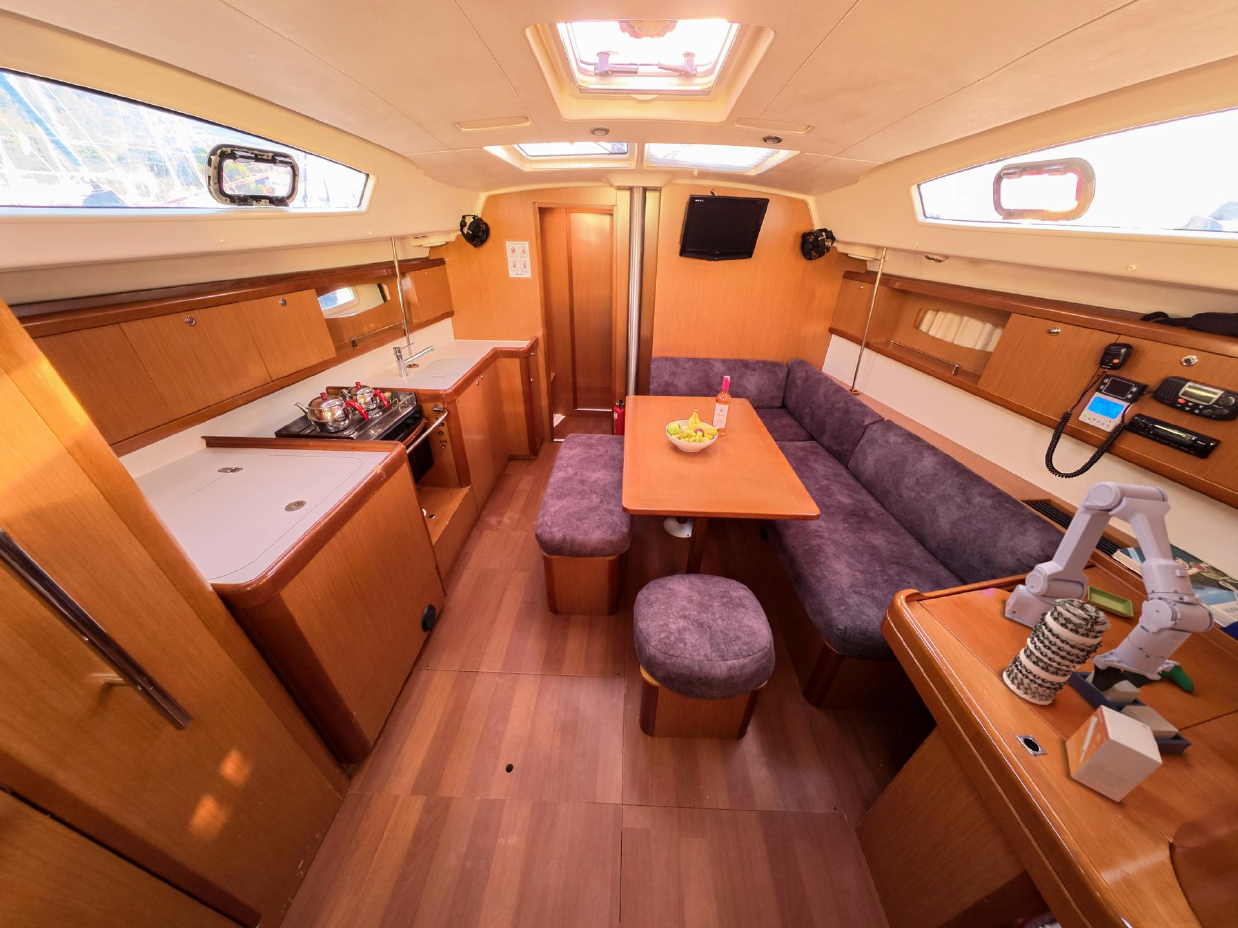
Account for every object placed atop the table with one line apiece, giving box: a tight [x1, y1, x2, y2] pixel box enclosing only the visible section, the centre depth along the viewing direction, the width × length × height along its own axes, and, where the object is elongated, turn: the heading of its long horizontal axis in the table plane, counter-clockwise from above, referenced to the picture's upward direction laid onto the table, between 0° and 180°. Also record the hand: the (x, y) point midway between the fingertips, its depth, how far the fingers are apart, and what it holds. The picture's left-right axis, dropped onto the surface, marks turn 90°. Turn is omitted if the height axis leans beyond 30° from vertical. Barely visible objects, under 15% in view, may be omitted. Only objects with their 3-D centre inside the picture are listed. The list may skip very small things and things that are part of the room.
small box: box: [1065, 705, 1164, 803], centre depth 73 cm, size 8×6×13 cm
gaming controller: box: [1160, 659, 1195, 692], centre depth 94 cm, size 9×4×6 cm
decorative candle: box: [1002, 599, 1112, 706], centre depth 86 cm, size 9×9×25 cm
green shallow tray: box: [1087, 584, 1134, 618], centre depth 115 cm, size 9×9×2 cm
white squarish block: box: [1086, 669, 1142, 703], centre depth 88 cm, size 5×5×4 cm
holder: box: [1067, 671, 1193, 754], centre depth 86 cm, size 8×15×3 cm, turn 179°
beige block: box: [1121, 705, 1180, 739], centre depth 82 cm, size 5×5×4 cm
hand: (1109, 687), depth 88 cm, fingers closed on white squarish block, 5 cm apart
